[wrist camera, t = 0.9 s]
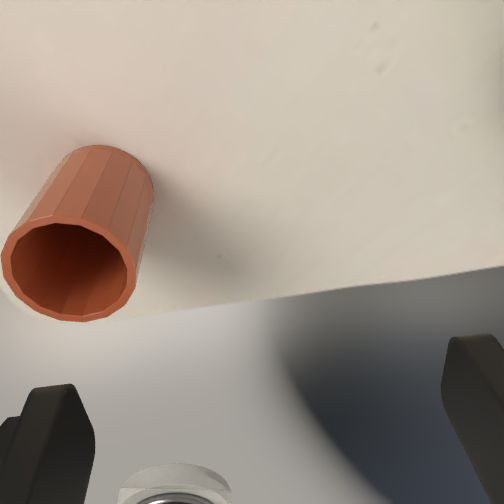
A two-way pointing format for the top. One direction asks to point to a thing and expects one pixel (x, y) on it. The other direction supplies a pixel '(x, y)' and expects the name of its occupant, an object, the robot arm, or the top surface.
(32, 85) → the top surface
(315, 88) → the top surface
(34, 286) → the cup
